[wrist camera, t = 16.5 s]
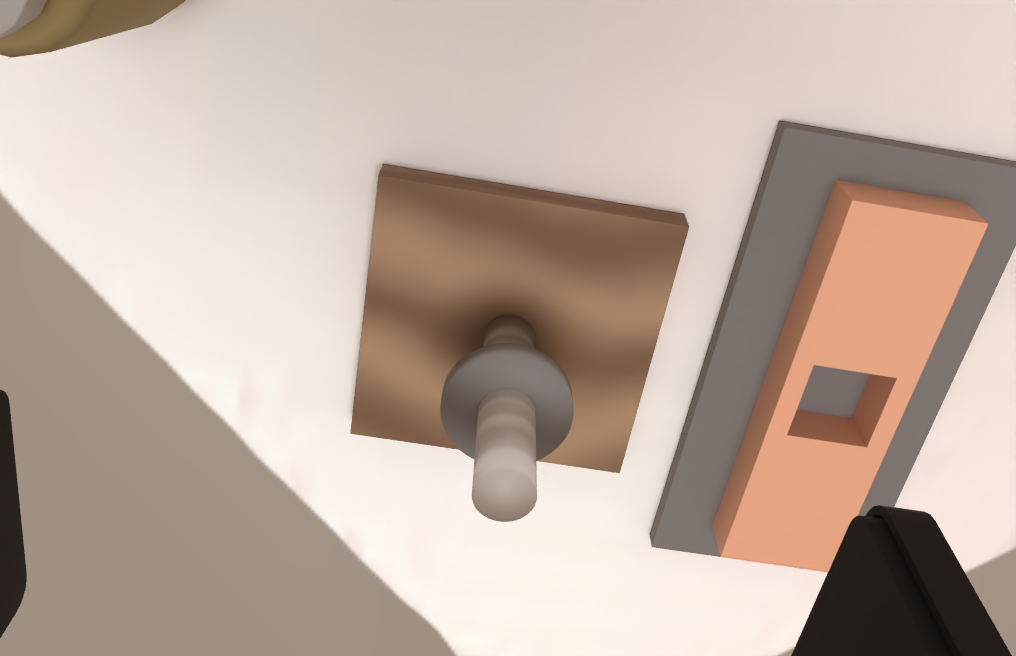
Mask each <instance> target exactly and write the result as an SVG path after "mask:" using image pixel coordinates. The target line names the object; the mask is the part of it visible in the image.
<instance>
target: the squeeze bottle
mask: <svg viewBox="0 0 1016 656" xmlns="http://www.w3.org/2000/svg"><path fill="white" fill-rule="evenodd" d="M184 1H185V0H0V55H4V56H8V57H18V56H25V55H32V54H39V53H46V52H52V51H56V50H59V49H63V48H66V47H70V46H73V45H77V44H81V43H84V42H88V41H91V40H95V39H98V38H102V37H106V36H109V35H113V34H116V33H120V32H123V31H127V30H131V29H134V28H138V27H141V26H145V25H148V24H152V23H154V22H155V21H156V20H158V19H159V18H161V17H162V16H164V15H165V14H167V13H168V12H170V11H171V10H173V9H174V8H176V7H177V6H179V5H180V4H182V3H183V2H184Z"/></svg>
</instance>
